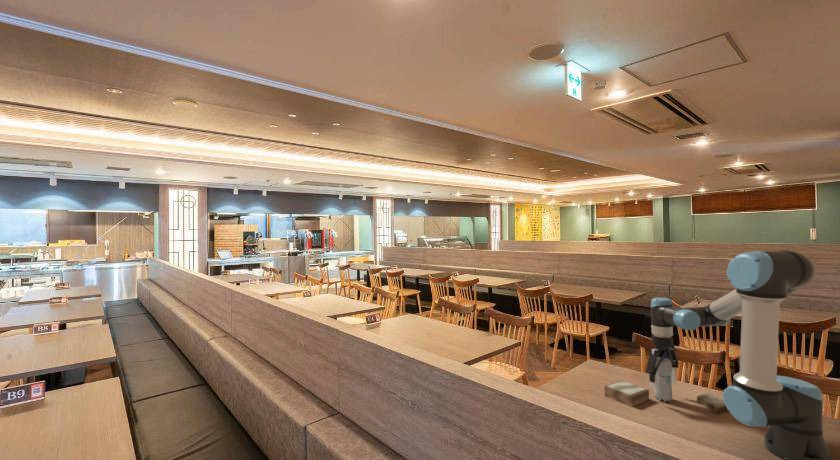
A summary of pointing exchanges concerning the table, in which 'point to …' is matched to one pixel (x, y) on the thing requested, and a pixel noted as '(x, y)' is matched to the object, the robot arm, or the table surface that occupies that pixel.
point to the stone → (712, 403)
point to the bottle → (664, 380)
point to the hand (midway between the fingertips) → (663, 385)
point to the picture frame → (627, 393)
